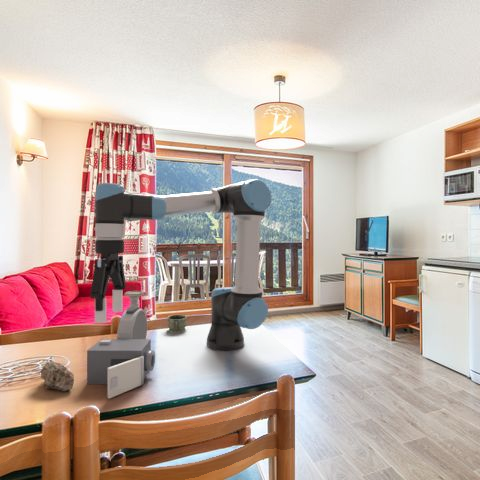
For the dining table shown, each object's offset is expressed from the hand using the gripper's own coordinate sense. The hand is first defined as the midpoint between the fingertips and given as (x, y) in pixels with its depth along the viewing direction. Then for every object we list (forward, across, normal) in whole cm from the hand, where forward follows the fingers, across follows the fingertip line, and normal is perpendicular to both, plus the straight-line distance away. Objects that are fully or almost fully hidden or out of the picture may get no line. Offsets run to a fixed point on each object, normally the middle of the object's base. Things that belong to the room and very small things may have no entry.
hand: (109, 316), depth 87 cm
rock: (+21, -3, -16) cm, 27 cm away
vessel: (+21, -56, +9) cm, 60 cm away
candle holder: (+21, -41, -6) cm, 46 cm away
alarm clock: (+21, -24, -1) cm, 32 cm away
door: (+21, +1, +5) cm, 21 cm away
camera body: (+21, -9, +1) cm, 23 cm away
